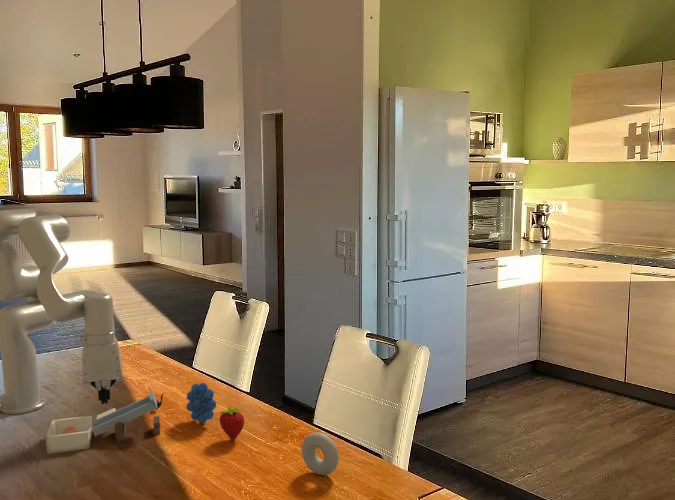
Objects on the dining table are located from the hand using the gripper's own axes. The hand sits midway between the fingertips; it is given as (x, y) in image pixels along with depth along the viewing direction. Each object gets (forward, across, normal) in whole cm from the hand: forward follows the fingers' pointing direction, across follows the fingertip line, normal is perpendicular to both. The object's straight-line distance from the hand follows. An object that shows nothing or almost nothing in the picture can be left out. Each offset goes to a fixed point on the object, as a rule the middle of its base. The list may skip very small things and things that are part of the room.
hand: (104, 402), depth 182 cm
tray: (+7, -8, -9) cm, 14 cm away
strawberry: (+7, +33, -22) cm, 40 cm away
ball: (+4, -8, -9) cm, 13 cm away
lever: (+3, +6, -5) cm, 9 cm away
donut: (+6, +50, -48) cm, 69 cm away
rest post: (+7, +14, -9) cm, 18 cm away
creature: (+7, +12, +8) cm, 16 cm away
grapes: (+7, +27, -7) cm, 28 cm away
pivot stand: (+7, +4, -9) cm, 12 cm away
